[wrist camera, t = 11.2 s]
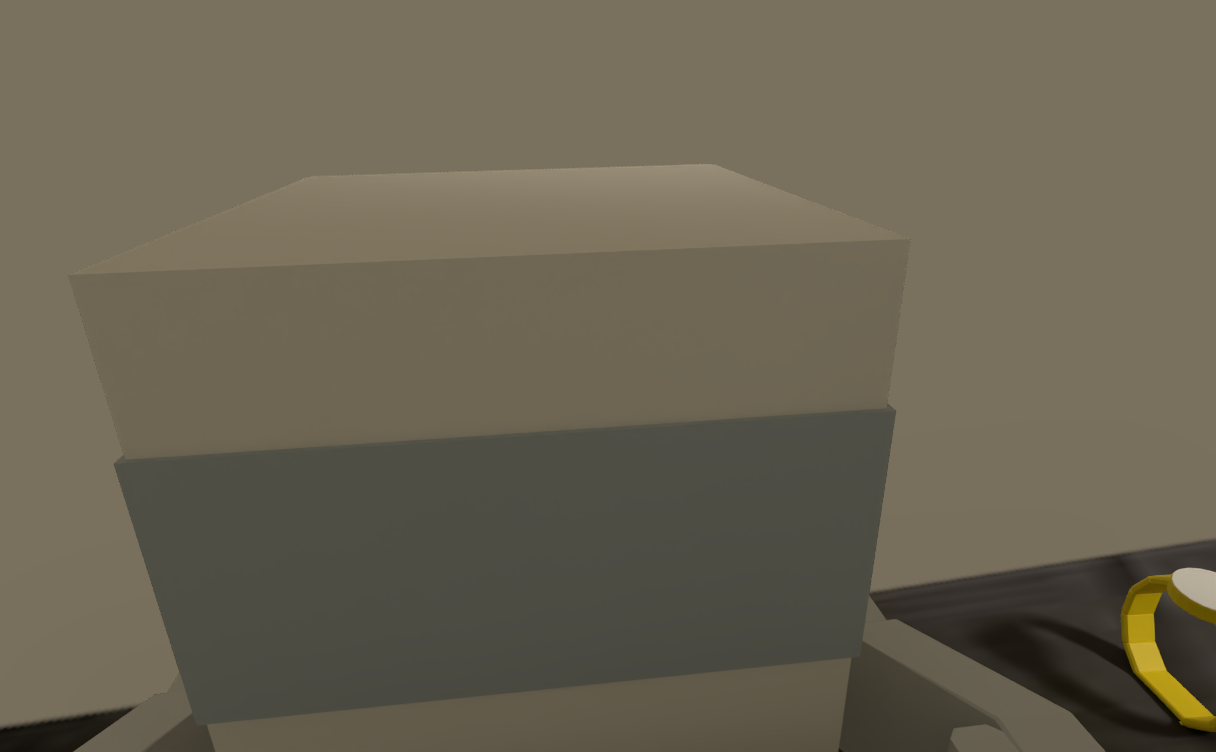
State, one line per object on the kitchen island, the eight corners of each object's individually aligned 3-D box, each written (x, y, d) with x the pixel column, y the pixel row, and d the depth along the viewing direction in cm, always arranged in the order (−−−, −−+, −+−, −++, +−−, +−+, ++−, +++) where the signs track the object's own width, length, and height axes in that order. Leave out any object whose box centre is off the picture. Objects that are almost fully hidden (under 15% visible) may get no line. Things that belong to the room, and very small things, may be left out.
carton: (691, 805, 15) (715, 162, 10) (782, 1182, 10) (921, 240, 5) (420, 838, 14) (307, 176, 10) (364, 1258, 9) (53, 278, 4)
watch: (1260, 758, 28) (1324, 649, 26) (1192, 762, 28) (1249, 654, 25) (1148, 640, 34) (1192, 541, 31) (1091, 644, 33) (1130, 544, 31)
